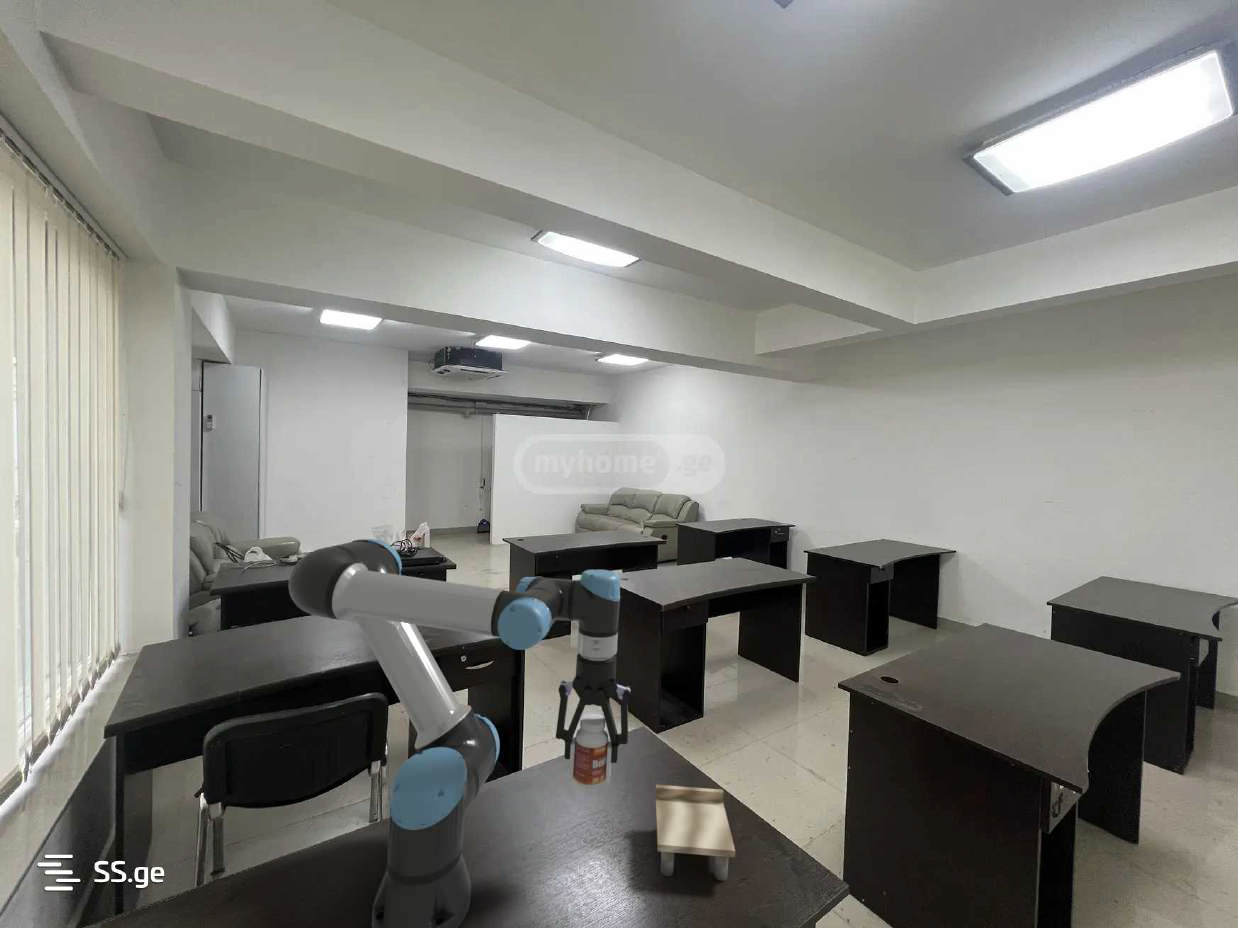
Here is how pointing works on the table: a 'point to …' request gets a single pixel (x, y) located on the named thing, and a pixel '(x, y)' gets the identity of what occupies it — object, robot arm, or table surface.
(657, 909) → the table surface
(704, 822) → the beige small table
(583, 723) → the pill bottle
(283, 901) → the table surface
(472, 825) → the table surface
